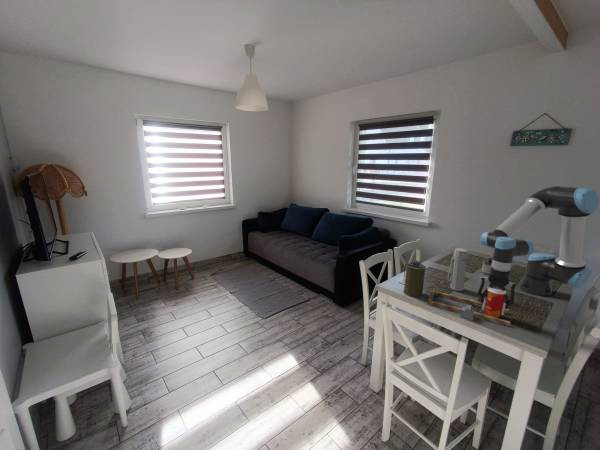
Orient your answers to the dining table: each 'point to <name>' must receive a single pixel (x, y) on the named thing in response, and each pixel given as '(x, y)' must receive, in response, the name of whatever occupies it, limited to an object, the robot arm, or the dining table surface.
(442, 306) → the brown piece
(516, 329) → the dining table surface
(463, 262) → the water bottle
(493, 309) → the coffee cup
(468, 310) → the block
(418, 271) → the canister
